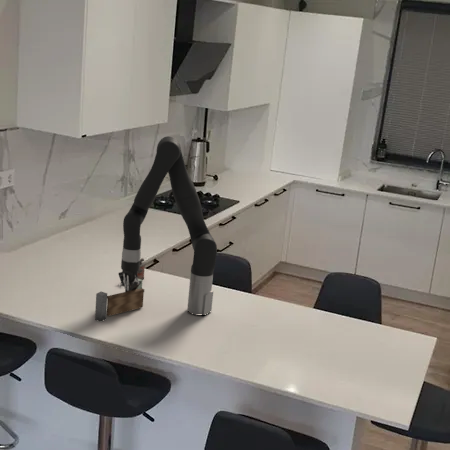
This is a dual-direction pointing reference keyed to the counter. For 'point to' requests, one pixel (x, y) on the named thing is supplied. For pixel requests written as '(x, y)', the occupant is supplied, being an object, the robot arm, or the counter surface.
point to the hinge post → (101, 306)
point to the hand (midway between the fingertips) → (128, 297)
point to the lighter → (141, 270)
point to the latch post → (140, 284)
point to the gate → (125, 301)
